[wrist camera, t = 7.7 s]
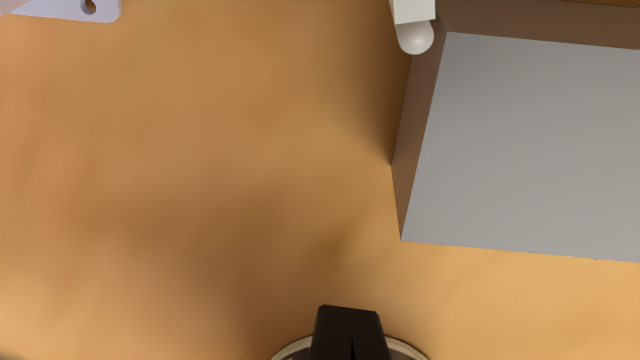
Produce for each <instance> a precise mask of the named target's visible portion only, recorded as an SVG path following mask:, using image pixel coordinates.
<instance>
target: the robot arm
mask: <svg viewBox="0 0 640 360" xmlns="http://www.w3.org/2000/svg"><path fill="white" fill-rule="evenodd" d="M91 1H92V2H94V3H95V6H96V11H95V12H94V11H91V10H89V9H88V8H87V6H86V4H85V0H0V17H2V16H3V15H5V14H17V15H28V16H38V17H49V18H59V19H70V20H80V21H91V22H101V23H111V22H113V21H115V20H116V19H117V18H119V17H120V15H121V13H122V2H121V0H91ZM307 360H393V359H392V356H391V353H390V351H389V348H388V345H387V342H386V339H385V336H384V333H383V329H382V326H381V323H380V319H379V315H378V314H377V313H376V312H375V311H368V310H361V309H353V308H346V307H339V306H331V305H322V306H320V307H319V308H318V313H317V317H316V322H315V327H314V332H313V336H312V341H311V346H310V350H309V355H308V359H307Z"/></svg>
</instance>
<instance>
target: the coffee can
mask: <svg viewBox="0 0 640 360" xmlns="http://www.w3.org/2000/svg"><path fill="white" fill-rule="evenodd" d="M312 336H313V335H312ZM312 336H309V337H305V338H303V339H300V340H298V341H295V342H293V343H291V344H289V345H287V346H285V347H284V348H283V349H281V350H280V351H279V352H277V353H276V354H275V355H274V356H273V357H272V358H271V360H307V359H308V355H309V350H310V346H311V341H312ZM385 339H386V342H387V345H388V348H389V351H390V353H391V356H392V359H393V360H429V359H428V358H427V357H425V356H424V355H423V354H421V353H420V352H418V351H417V350H416V349H414V348H413V347H411V346H409V345H408V344H406V343H404V342H401V341H399V340H396V339H393V338H390V337H387V336H385Z"/></svg>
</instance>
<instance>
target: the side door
mask: <svg viewBox="0 0 640 360" xmlns="http://www.w3.org/2000/svg"><path fill="white" fill-rule="evenodd" d="M388 1H389V5H390V9H391V13H392V17H393V21H394V26H395V30H396V34H397V38H398V42H399V45H400V47H401V48H402V50H404V51H405V52H406V53H409V54H420V53H423V52H425V51H426V50H427V49H428V48H429V47H430V46H431V44H432V42H433V39H434V32H433V29H432V27H431V24H430V22H429V20H432V19H435V0H388Z"/></svg>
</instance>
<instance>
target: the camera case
mask: <svg viewBox="0 0 640 360" xmlns="http://www.w3.org/2000/svg"><path fill="white" fill-rule="evenodd" d="M429 22H430V24H431V27H432V29H433V32H434V39H433V42H432V44H431V46H430V47H429V48H428V49H427V50H426V51H425V52H423V53H420V54H413V55H412V60H411V65H410V71H409V76H408V81H407V86H406V92H405V97H404V102H403V108H402V113H401V118H400V123H399V129H398V134H397V139H396V144H395V150H394V155H393V160H392V165H391V170H392V178H393V186H394V193H395V201H396V209H397V217H398V224H399V232H400V240H401V241H408V242H418V243H429V244H440V245H451V246H462V247H473V248H484V249H494V250H505V251H516V252H527V253H538V254H549V255H560V256H570V257H581V258H592V259H603V260H614V261H625V262H636V263H640V8H632V7H622V6H611V5H601V4H591V3H580V2H570V1H560V0H435V19H432V20H429Z"/></svg>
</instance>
